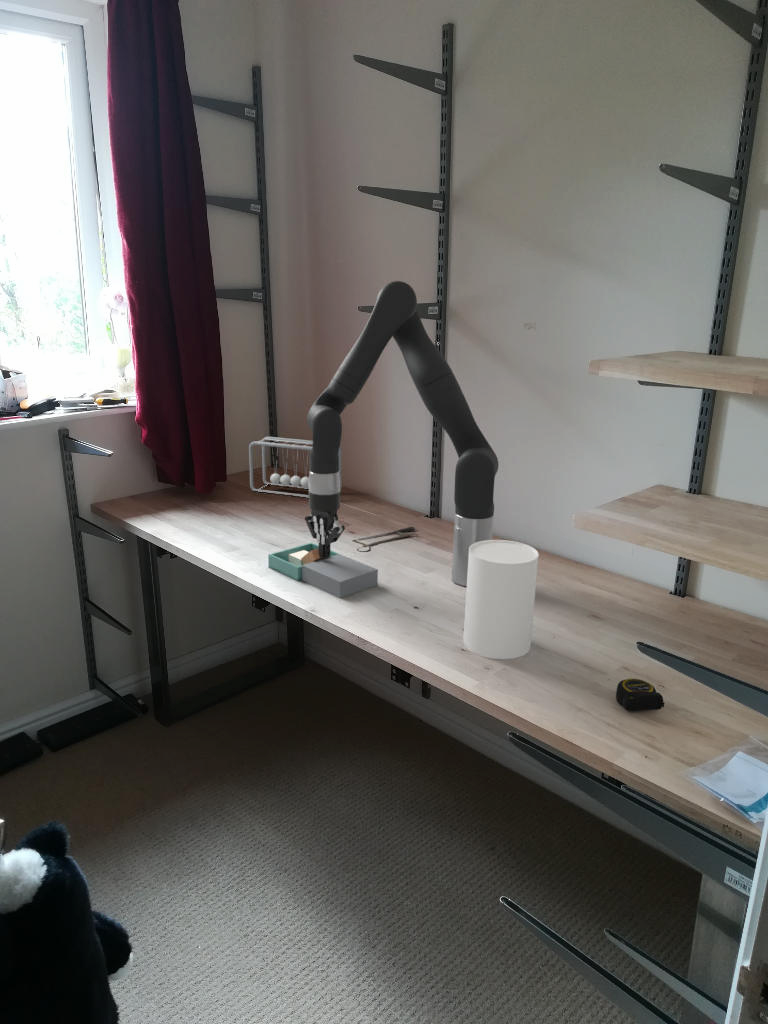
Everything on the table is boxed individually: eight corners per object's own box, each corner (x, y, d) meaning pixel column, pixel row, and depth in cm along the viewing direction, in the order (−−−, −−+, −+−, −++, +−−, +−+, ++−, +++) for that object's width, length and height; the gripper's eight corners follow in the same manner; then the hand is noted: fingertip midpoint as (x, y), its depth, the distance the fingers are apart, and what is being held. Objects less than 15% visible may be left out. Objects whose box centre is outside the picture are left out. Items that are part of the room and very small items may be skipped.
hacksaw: (412, 529, 221) (413, 525, 221) (433, 539, 213) (433, 534, 213) (342, 542, 209) (342, 537, 208) (361, 554, 200) (361, 548, 200)
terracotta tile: (330, 555, 185) (326, 546, 186) (314, 559, 182) (310, 550, 182) (320, 562, 189) (316, 554, 189) (305, 567, 185) (301, 558, 186)
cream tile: (304, 550, 192) (304, 559, 193) (288, 554, 189) (288, 563, 190) (316, 555, 189) (316, 564, 190) (300, 559, 186) (300, 569, 186)
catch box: (341, 567, 190) (341, 554, 189) (297, 581, 180) (297, 567, 179) (311, 554, 198) (311, 542, 197) (268, 567, 188) (268, 554, 187)
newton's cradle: (341, 493, 256) (342, 443, 251) (330, 501, 247) (330, 449, 242) (263, 484, 265) (262, 435, 260) (249, 491, 256) (248, 441, 251)
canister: (475, 623, 160) (481, 535, 154) (537, 637, 155) (546, 546, 149) (453, 649, 148) (459, 555, 142) (519, 665, 143) (528, 568, 137)
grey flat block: (377, 584, 179) (377, 569, 178) (339, 598, 171) (340, 582, 170) (339, 568, 189) (339, 553, 188) (302, 580, 181) (302, 565, 180)
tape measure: (625, 717, 127) (628, 698, 125) (608, 696, 133) (610, 677, 132) (663, 715, 128) (666, 696, 126) (644, 694, 134) (646, 675, 133)
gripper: (354, 492, 176) (353, 560, 181) (318, 481, 185) (319, 546, 190) (330, 497, 171) (330, 568, 176) (294, 486, 180) (295, 553, 185)
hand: (324, 557), depth 183 cm, fingers closed
